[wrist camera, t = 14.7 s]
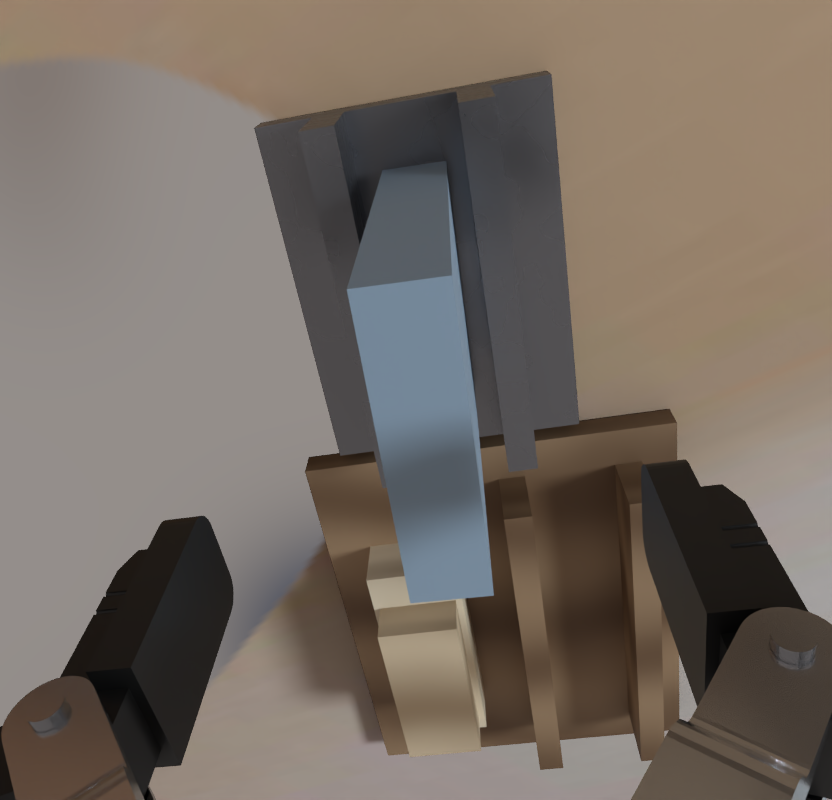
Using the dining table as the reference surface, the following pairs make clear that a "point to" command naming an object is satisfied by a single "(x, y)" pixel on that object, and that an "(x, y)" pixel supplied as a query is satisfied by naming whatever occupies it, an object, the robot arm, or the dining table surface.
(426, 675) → the offcut stack
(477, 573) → the tall sheet
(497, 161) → the stand
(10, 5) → the dining table surface
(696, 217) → the dining table surface
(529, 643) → the offcut rack
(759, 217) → the dining table surface
